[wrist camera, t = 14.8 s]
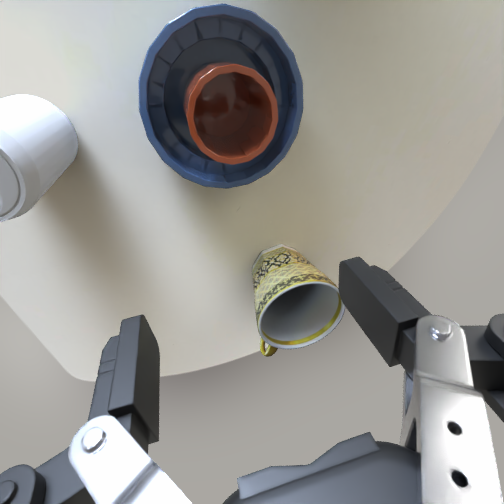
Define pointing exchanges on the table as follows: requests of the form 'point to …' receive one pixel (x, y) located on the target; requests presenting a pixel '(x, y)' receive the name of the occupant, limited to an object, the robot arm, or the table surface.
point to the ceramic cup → (293, 300)
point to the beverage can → (31, 151)
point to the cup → (230, 111)
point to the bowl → (206, 51)
